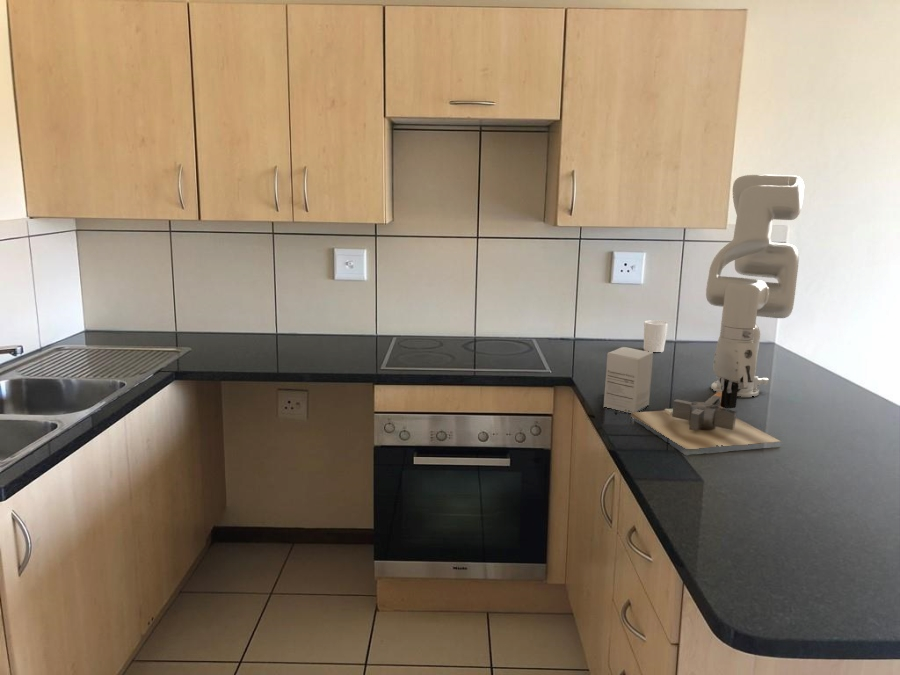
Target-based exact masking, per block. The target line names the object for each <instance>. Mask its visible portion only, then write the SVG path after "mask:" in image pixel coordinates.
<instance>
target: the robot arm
mask: <svg viewBox="0 0 900 675" xmlns="http://www.w3.org/2000/svg"><path fill="white" fill-rule="evenodd" d="M804 192H805V184H804V181H803V178H801V177H800V176H797V175H791V174H790V175H789V174H788V175H787V174H785V175H784V174H783V175H781V174H778V175H777V174H747V175H742V176H740V177H739V176H738V177H737V178H736V179H735V180H734V181H733V185H732V199H733V206H734V211H735V214H736V218H735V219H736V220H735V225H734V231H733V237H732V240H731V241H729V243H727V244H726V245H724V247H722V248H721V249H720V250H719V251H718V253H717V254H716V255H715V256H714V257H713V259H712V262H711V264H710V267H709V270H708V276H707V277H708V278H707V282H706V289H705V297H706V298H705V299H706V300H707V302H708V303H709V304H710V305H712V306H713V307H722V314H721V315H722V316H721V320H720V321H721V322H720V331H719V337H718V340H717V343H716V346H715V347H716V348H715V353H714V359H713V368H712V369H713V370H712V371H713V373H714V374H715V375H714V376H715V379H716V380H717V381H714V382H713V383H711V384H710V385H711V387H710V388H711V390H712V389H713V390H712V391H713V392H715V391H717V392H722V397H721V407H724V408H723V409H735V408H736V407H737V401H738V397H737V396H741V397H740V398H753V397H752V396H754V397H757V396H759V394H760V389H759V388H758V387H759V386H760V385H761V386H762V385H763V386H764V385H768V384H769V383H770V380H769V378H768V377H760V378H759V376H757V375H756V370H757V363H758V354H759V350H760V348H759V346H760V341H761V330H760V327H759V326H758V324H757V322H756V321H757V317H761V318H770V319H786V318H788V317H789V316H790V315H791V314H792V313H793V309H794V303H795V296H796V289H797V281H798V274H799V273H798V272H799V264H800V263H799V261H800V257H799V255H800V254H799V250H798V249H797V247H796V246H795V245H793V244H790V243H785V242H783V243H781V242H772V233H773V220H775V221H777V220H778V221H793V220H795V219H797V218H798V217H799V215H800V213H801V211H802V208H803V207H802V206H803V202H804V194H805V193H804ZM733 261H734V270H735V271H736V273H737V274H739V275H742V276H747V277H754V278H746V277H745V278H744V277H736V276H723V275H722V276H721V274H722V270H723V269H724V268H726V267H725V266H726V265H728V264H730V263H731V262H733ZM755 277H757V278H768V279H769V278H770V279H772V278H773V279H775V280H777V282H769V281H764V280H762V279H757V278H755ZM717 392H716V393H717Z"/></svg>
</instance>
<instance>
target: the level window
mask: <svg viewBox="0 0 900 675" xmlns="http://www.w3.org/2000/svg"><path fill="white" fill-rule="evenodd" d="M664 410H665V412H666V413H668V414H670V415H672V413H673V408H664Z"/></svg>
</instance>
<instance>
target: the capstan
mask: <svg viewBox="0 0 900 675" xmlns="http://www.w3.org/2000/svg"><path fill="white" fill-rule="evenodd" d="M721 397H722V392H715V393H714V394H713V395H712V396H710V397H709V398H708V399H706V400H705V401H704V402H701V401H698V402H697V401H695V402H692V401H688V400H682V399H677V398H676V399H675V400H673V404H672V409H673V413H672V417H676V418H680V419H685V420H689V425H690V427H689V430H693V431H698V430H699V429H701V430H713V429H715V428H716V427H720V428H725V429H729V430H733V429H734V428H735V420H736V418H737V410H735V411H734V410H730V409H727V408H724V407H721Z"/></svg>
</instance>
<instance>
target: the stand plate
mask: <svg viewBox="0 0 900 675" xmlns="http://www.w3.org/2000/svg"><path fill="white" fill-rule="evenodd" d="M631 417H633V418H635V419H637V420H639V421H641V422H643V423H644V424H646V425H648V426H650V427H651V428H653V429H654V430H656V431H657V432H659V433H661V434H662V435H664V436H665V437H667V438H669V439H670V440H672V441H673V442H675V443H677V444H678V445H680V446H682V447H683V448H685V449H699V448H710V447H716V445H718V446H719V447H721V445H723V446H732V445H748V444H761V443H774V442H782V441H781V440H779V439H777V438H775V437H774V436H772V435H770V434H768V433H766V432H764V431H763V430H761V429H758V428H756V427H755V426H752V425H751V424H749V423H747V422H745V421H743V420H742V419H739V418H737V417H736V420H735V428H734V429H733V430H729V429H725V428H720V427H716V428H715V429H713V430H701V429H699V430H698V431H693V430H689V427H690V425H689V420H685V419H680V418H676V417H672V415H670V414H668V413H666V412H665V409H664V410H653V411H651V410H649V411H640V412H635V413H631V414H630V418H631Z"/></svg>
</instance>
